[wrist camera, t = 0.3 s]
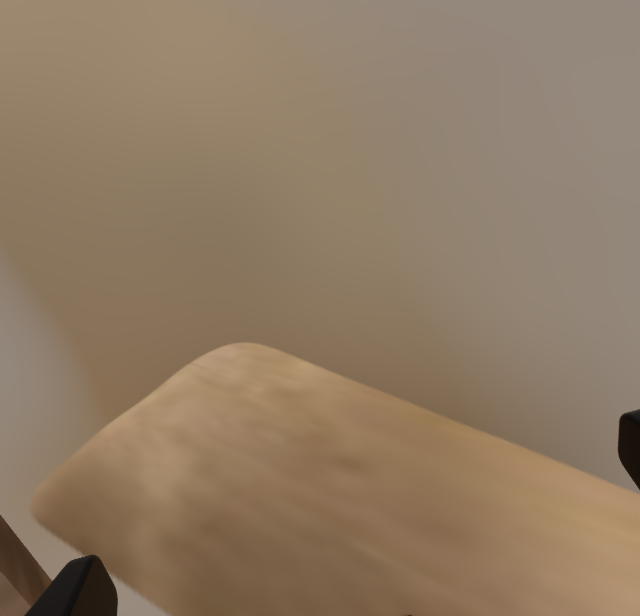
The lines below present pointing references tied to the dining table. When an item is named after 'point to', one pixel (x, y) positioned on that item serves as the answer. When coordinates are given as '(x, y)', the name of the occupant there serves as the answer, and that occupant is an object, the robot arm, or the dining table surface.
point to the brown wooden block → (18, 575)
